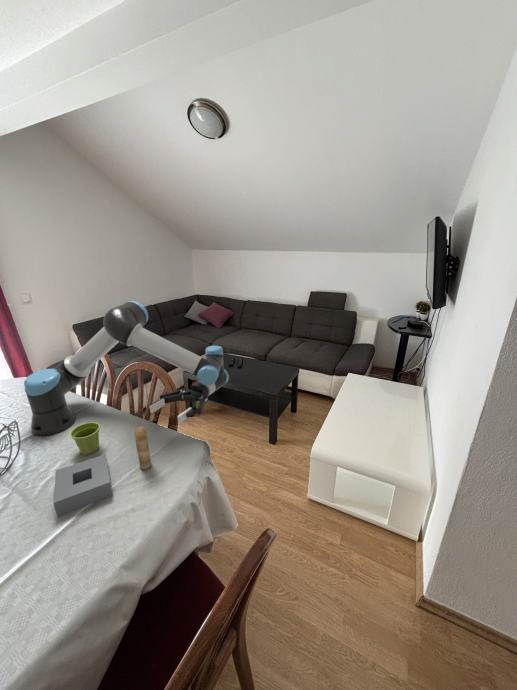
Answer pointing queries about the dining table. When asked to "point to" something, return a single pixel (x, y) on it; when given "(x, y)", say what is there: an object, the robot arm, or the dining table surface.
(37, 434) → the robot arm
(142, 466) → the oak dowel
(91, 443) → the plant pot
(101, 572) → the dining table surface
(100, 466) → the socket block
